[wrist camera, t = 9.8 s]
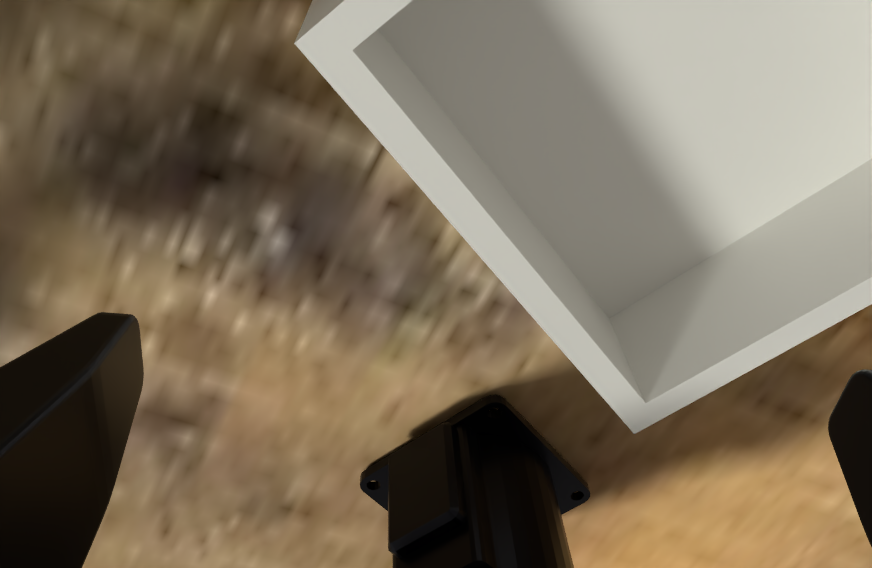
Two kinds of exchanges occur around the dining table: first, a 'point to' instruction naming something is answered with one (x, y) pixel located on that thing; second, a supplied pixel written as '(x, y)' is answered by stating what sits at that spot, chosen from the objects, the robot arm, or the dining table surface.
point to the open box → (633, 167)
